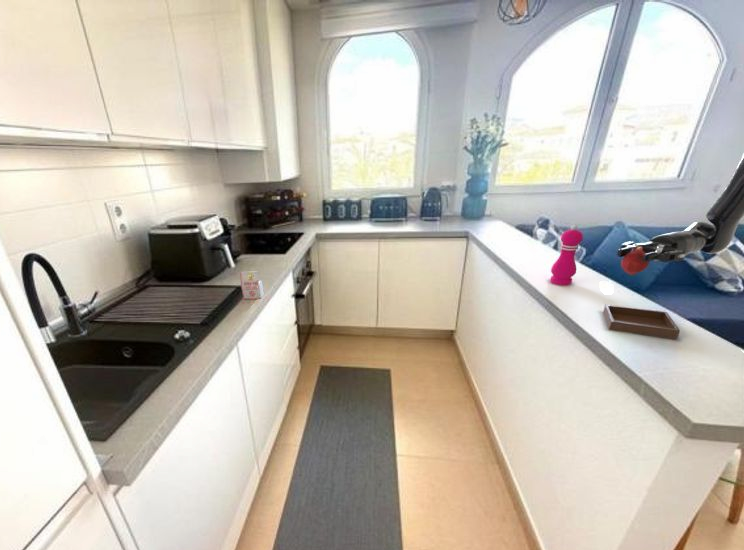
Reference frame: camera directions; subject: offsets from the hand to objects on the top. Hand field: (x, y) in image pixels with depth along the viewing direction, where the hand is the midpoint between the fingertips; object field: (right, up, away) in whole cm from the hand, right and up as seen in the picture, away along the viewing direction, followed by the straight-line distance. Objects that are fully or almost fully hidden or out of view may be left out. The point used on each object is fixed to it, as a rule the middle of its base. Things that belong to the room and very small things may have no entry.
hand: (631, 255), depth 94 cm
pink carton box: (-111, -10, +33) cm, 116 cm away
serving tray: (-1, -19, -2) cm, 19 cm away
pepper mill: (-1, -5, +27) cm, 27 cm away
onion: (+3, -5, +3) cm, 7 cm away
